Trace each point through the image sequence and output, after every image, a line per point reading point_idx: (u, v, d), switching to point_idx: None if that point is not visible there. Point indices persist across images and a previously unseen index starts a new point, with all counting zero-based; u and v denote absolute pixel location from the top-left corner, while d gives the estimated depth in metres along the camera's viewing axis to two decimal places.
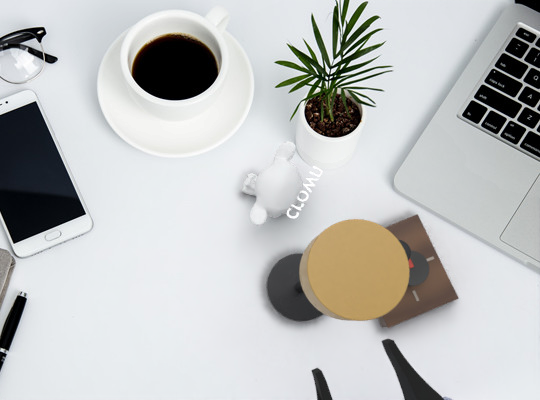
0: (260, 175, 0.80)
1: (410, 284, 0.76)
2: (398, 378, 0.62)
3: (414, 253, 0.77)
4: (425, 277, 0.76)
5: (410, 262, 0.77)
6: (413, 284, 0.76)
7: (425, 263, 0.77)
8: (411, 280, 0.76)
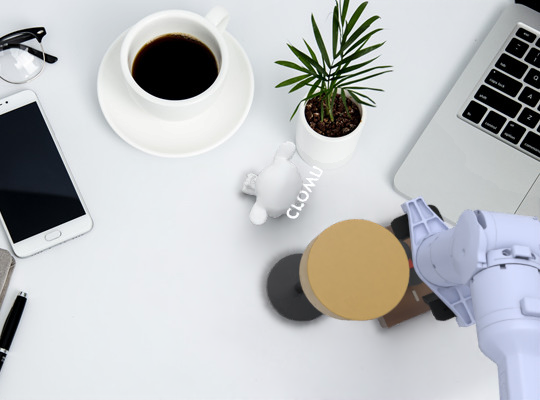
0: (260, 175, 0.80)
1: (410, 284, 0.76)
2: (430, 298, 0.70)
3: None
4: None
5: (410, 262, 0.77)
6: (413, 284, 0.76)
7: None
8: (411, 280, 0.76)
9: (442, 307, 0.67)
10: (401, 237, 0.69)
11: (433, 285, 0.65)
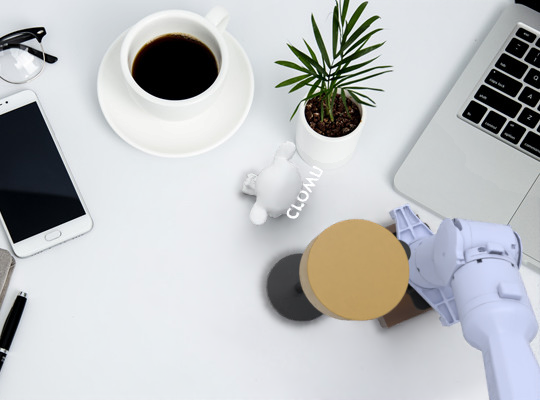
0: (260, 175, 0.80)
1: None
2: None
3: None
4: None
5: None
6: None
7: None
8: None
9: None
10: None
11: None
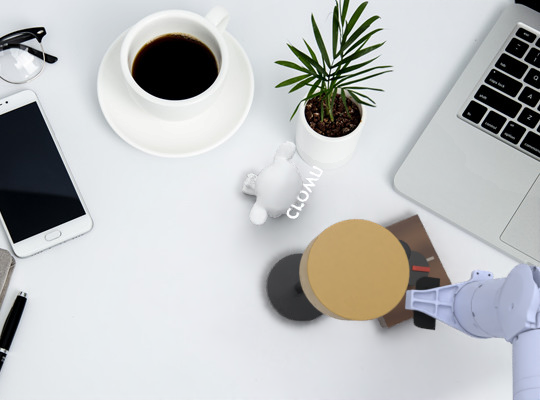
0: (260, 175, 0.80)
1: None
2: None
3: None
4: None
5: (417, 269, 0.76)
6: None
7: (409, 282, 0.76)
8: None
9: None
10: (434, 325, 0.66)
11: None
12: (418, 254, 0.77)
